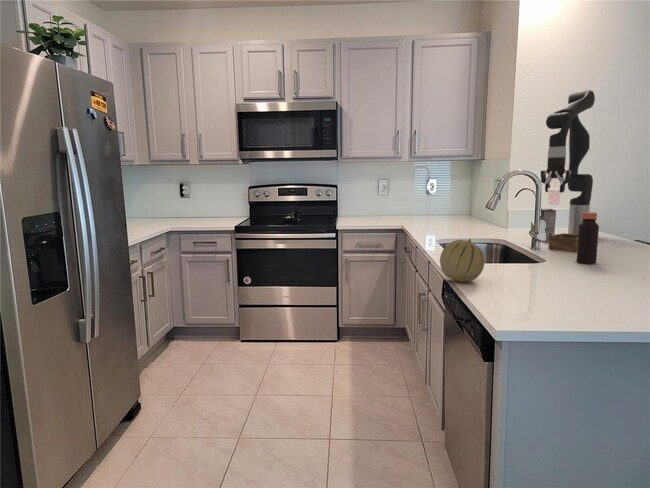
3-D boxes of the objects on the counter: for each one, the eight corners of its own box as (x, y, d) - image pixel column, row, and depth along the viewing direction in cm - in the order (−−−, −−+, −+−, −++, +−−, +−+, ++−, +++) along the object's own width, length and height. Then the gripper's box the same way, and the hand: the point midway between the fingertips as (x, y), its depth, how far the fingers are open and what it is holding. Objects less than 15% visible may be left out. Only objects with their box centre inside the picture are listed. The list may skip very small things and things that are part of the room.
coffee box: (536, 238, 230) (538, 208, 228) (549, 238, 229) (551, 208, 226) (541, 241, 221) (543, 210, 219) (554, 241, 220) (556, 210, 217)
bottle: (579, 260, 177) (582, 211, 174) (598, 262, 173) (602, 212, 169) (574, 263, 173) (577, 213, 169) (593, 265, 168) (597, 214, 164)
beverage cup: (545, 206, 212) (547, 177, 210) (559, 206, 210) (561, 177, 208) (547, 207, 207) (549, 178, 204) (561, 207, 205) (564, 177, 202)
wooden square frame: (561, 245, 210) (562, 233, 209) (588, 248, 200) (588, 235, 199) (548, 248, 203) (549, 236, 202) (575, 252, 193) (575, 238, 192)
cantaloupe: (430, 280, 154) (431, 238, 151) (460, 274, 161) (461, 234, 158) (462, 289, 141) (463, 244, 138) (493, 282, 148) (494, 239, 145)
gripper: (576, 156, 201) (573, 192, 203) (546, 157, 212) (544, 191, 215) (568, 156, 196) (565, 193, 199) (537, 157, 208) (535, 192, 211)
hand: (554, 192), depth 207 cm, fingers closed on beverage cup, 6 cm apart
